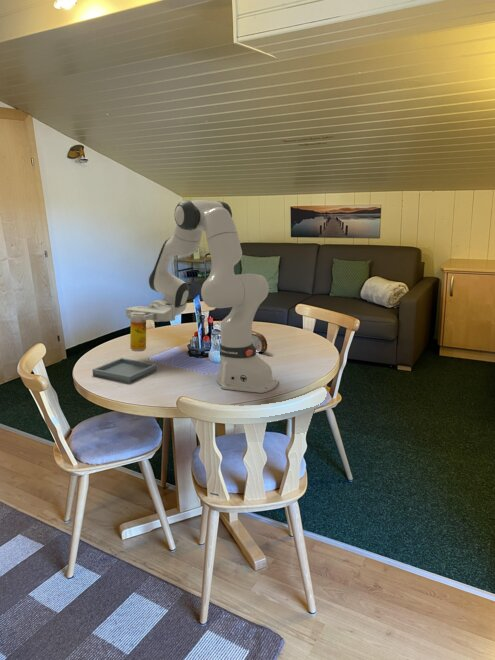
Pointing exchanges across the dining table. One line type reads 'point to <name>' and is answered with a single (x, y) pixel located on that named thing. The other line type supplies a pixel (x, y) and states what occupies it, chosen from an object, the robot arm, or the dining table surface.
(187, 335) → the dining table surface
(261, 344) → the tin
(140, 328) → the beer can
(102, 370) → the tray
